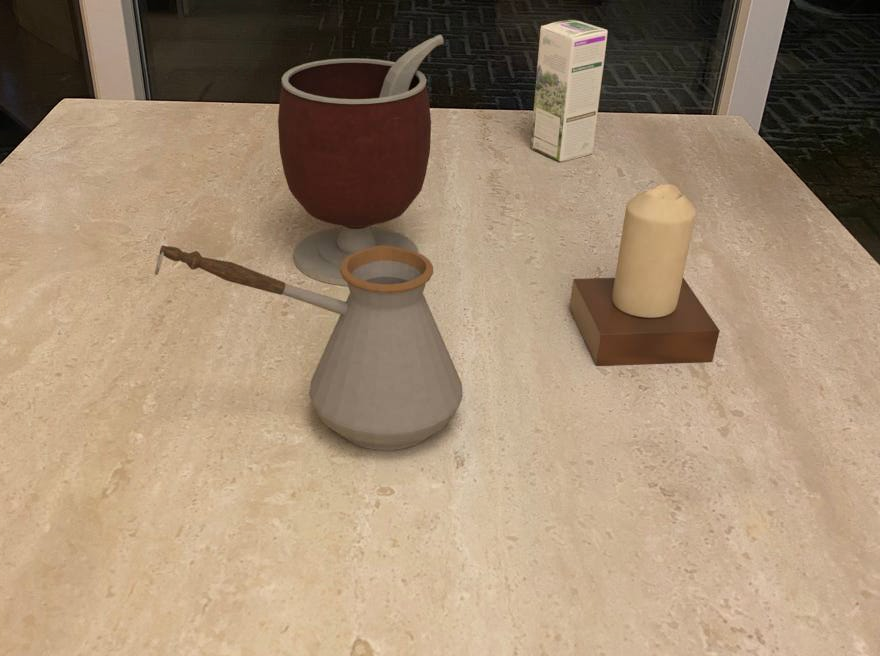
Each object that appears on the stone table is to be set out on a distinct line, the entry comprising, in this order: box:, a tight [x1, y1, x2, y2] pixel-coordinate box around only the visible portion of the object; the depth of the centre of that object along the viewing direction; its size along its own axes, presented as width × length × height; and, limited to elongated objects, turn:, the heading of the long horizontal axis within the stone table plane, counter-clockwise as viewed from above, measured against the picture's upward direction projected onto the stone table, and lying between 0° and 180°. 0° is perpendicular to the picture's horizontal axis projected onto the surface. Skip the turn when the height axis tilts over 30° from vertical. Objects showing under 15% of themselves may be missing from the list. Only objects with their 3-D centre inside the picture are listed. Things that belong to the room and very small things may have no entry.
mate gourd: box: [277, 34, 444, 287], centre depth 93 cm, size 16×14×20 cm
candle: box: [612, 183, 697, 318], centre depth 83 cm, size 6×6×10 cm
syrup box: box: [530, 19, 609, 162], centre depth 119 cm, size 6×6×14 cm
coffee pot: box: [154, 245, 464, 451], centre depth 71 cm, size 21×12×15 cm, turn 97°
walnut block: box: [568, 277, 720, 367], centre depth 87 cm, size 10×10×3 cm
